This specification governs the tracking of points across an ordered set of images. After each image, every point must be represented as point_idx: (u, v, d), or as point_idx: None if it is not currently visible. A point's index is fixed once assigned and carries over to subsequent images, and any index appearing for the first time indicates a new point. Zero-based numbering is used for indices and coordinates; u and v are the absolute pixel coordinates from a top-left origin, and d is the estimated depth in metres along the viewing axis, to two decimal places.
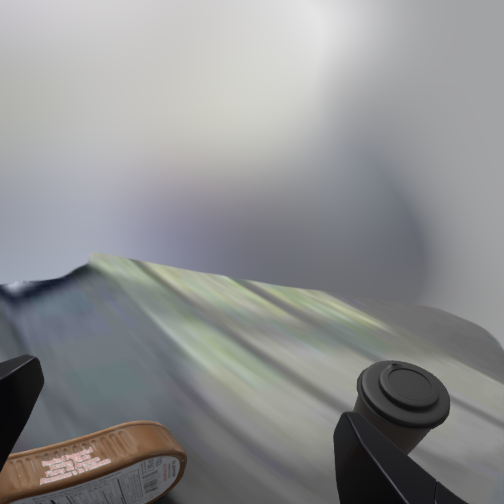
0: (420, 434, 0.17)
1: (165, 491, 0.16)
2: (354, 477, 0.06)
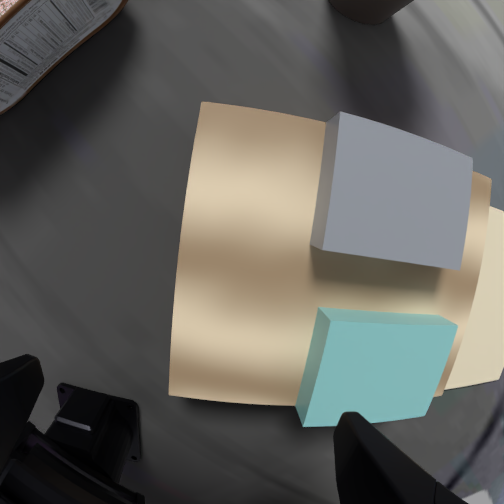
0: None
1: (119, 6, 0.14)
2: (354, 477, 0.06)
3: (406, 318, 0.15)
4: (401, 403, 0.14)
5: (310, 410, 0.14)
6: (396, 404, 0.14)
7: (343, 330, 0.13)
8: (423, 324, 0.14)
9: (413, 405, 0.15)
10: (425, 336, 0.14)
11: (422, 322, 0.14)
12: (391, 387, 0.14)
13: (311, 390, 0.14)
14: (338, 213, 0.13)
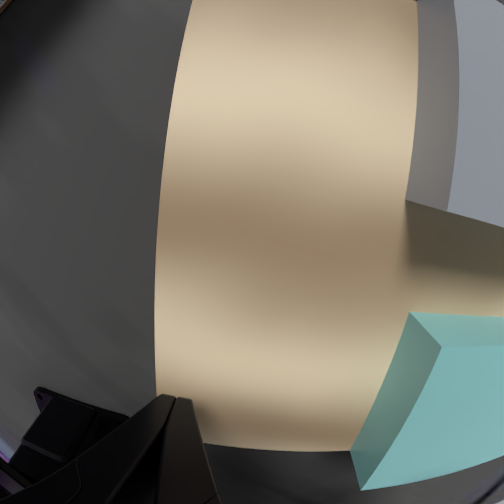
0: None
1: None
2: None
3: None
4: (492, 445, 0.07)
5: (376, 472, 0.07)
6: (486, 447, 0.07)
7: (456, 361, 0.06)
8: None
9: (503, 444, 0.07)
10: None
11: None
12: (489, 430, 0.07)
13: (383, 447, 0.07)
14: (473, 140, 0.05)
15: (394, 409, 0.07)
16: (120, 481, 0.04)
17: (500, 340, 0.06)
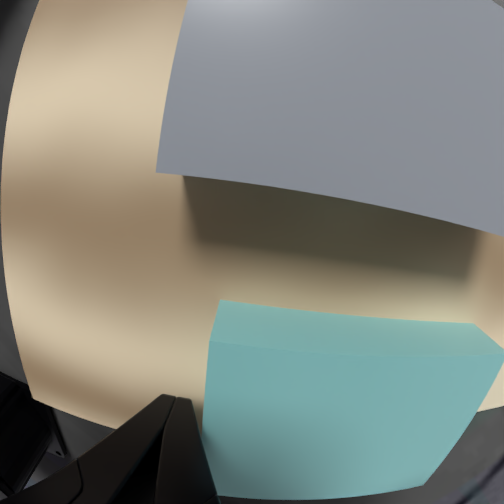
0: None
1: None
2: None
3: (408, 335, 0.07)
4: (381, 476, 0.07)
5: None
6: (372, 478, 0.07)
7: (243, 363, 0.06)
8: (441, 354, 0.06)
9: (404, 476, 0.07)
10: (441, 378, 0.06)
11: (440, 347, 0.06)
12: (363, 459, 0.07)
13: None
14: (194, 83, 0.05)
15: None
16: (121, 481, 0.04)
17: (334, 347, 0.06)
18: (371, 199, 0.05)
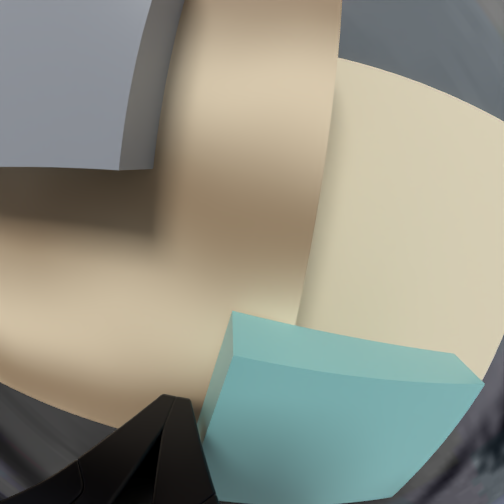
0: None
1: None
2: None
3: (402, 361, 0.08)
4: (358, 486, 0.08)
5: None
6: (350, 487, 0.08)
7: (261, 378, 0.06)
8: (431, 380, 0.07)
9: (377, 488, 0.08)
10: (428, 401, 0.07)
11: (430, 374, 0.07)
12: (347, 470, 0.07)
13: None
14: None
15: (206, 415, 0.07)
16: (122, 481, 0.04)
17: (343, 368, 0.07)
18: None
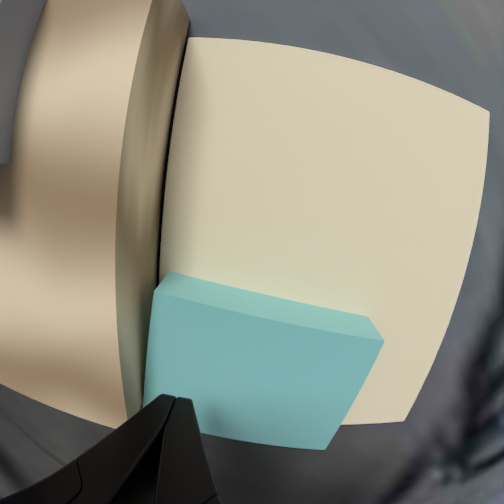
0: None
1: None
2: None
3: (296, 312, 0.11)
4: (281, 427, 0.11)
5: (146, 400, 0.11)
6: (273, 427, 0.11)
7: (173, 308, 0.10)
8: (316, 327, 0.10)
9: (303, 434, 0.11)
10: (318, 346, 0.10)
11: (318, 323, 0.10)
12: (262, 404, 0.11)
13: (146, 376, 0.11)
14: None
15: None
16: (120, 481, 0.04)
17: (233, 307, 0.10)
18: None
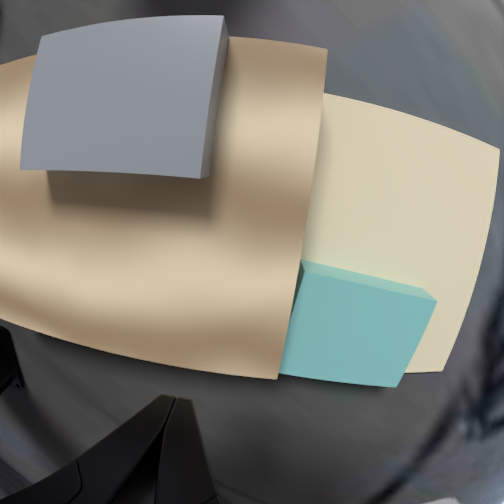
0: None
1: None
2: None
3: (385, 283, 0.16)
4: (371, 368, 0.16)
5: None
6: (366, 368, 0.16)
7: (316, 282, 0.15)
8: (399, 292, 0.15)
9: (384, 373, 0.16)
10: (400, 305, 0.15)
11: (400, 290, 0.15)
12: (362, 350, 0.16)
13: None
14: (29, 131, 0.10)
15: None
16: (120, 481, 0.04)
17: (352, 280, 0.15)
18: (87, 169, 0.10)
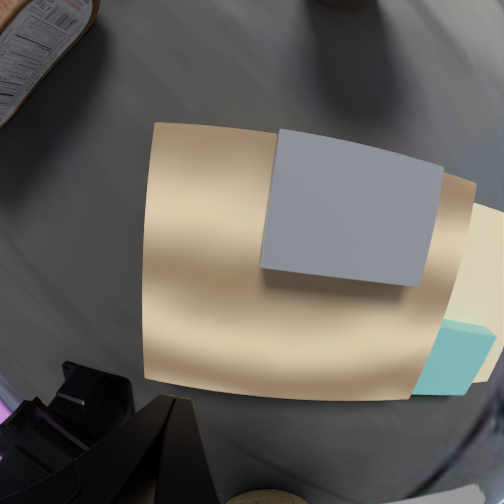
0: None
1: (89, 19, 0.15)
2: None
3: (467, 327, 0.20)
4: (453, 383, 0.20)
5: None
6: (451, 383, 0.20)
7: None
8: (477, 333, 0.19)
9: (459, 386, 0.20)
10: (477, 341, 0.19)
11: (477, 331, 0.19)
12: (451, 372, 0.20)
13: None
14: (275, 233, 0.13)
15: None
16: (120, 481, 0.04)
17: (454, 328, 0.19)
18: (342, 276, 0.14)
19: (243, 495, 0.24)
